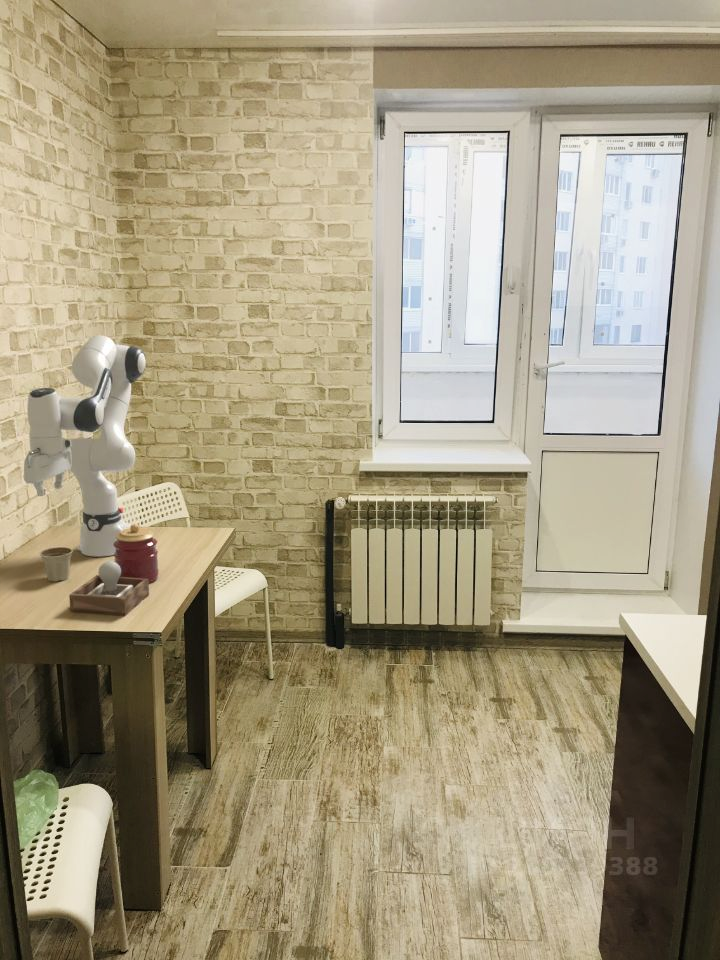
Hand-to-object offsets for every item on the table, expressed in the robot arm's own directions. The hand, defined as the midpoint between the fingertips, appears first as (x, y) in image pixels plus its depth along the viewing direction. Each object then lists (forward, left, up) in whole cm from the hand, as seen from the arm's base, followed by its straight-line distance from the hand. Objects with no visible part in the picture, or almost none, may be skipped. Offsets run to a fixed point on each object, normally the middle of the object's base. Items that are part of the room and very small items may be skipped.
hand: (50, 491), depth 229 cm
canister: (-10, +21, -29) cm, 37 cm away
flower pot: (-6, -3, -29) cm, 30 cm away
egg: (+9, +22, -28) cm, 37 cm away
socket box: (+10, +22, -29) cm, 38 cm away
